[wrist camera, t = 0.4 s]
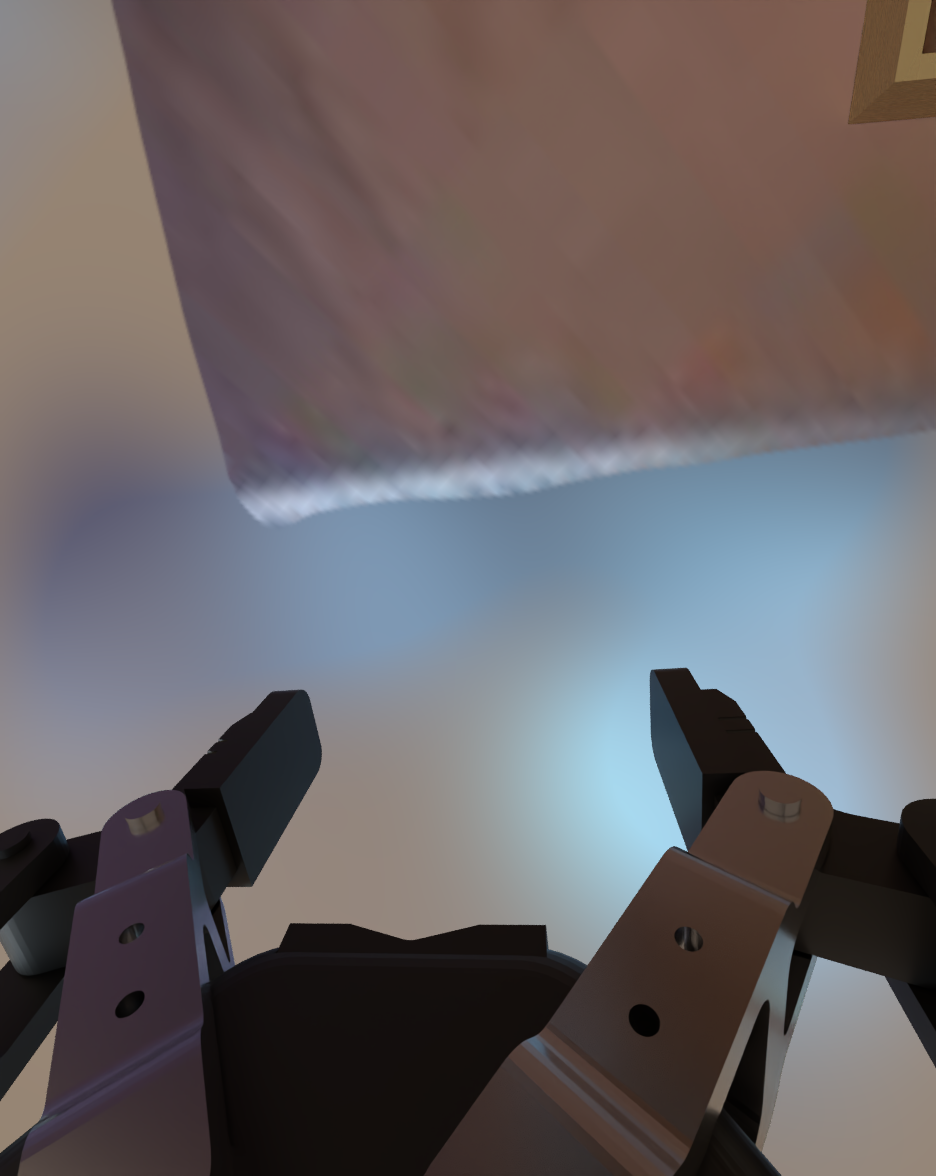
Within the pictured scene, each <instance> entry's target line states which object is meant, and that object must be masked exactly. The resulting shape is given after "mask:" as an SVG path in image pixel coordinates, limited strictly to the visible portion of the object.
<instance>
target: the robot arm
mask: <svg viewBox="0 0 936 1176" xmlns="http://www.w3.org/2000/svg"><path fill="white" fill-rule="evenodd" d="M650 712H651V713H650V716H651V740H652V747H653V753H654V757H655V760H656V763H657V766H658V769H659V772H660V774H661V777H662V780H663V783H664V786H665V789H666V791H667V794H668V797H669V800H670V803H671V805H672V808H673V811H674V814H675V817H676V819H677V822H678V825H679V828H680V830H681V834H682V836H683V839H684V842H685V845H686V848H687V850H688V852H687V851H684V850H682V849H680V848H678V847H675V846H673V847H671V848H669V849H668V850H667V851H666V852H665V853H664V855H663V856H662V858H661V859H660V861H659V862H658V863H657V865H656V866H655V868H654V869H653V871H652V872H651V874H650V875H649V877H648V878H647V879H646V881H645V882H644V884H643V885H642V887H641V888H640V890H639V891H638V893H637V894H636V896H635V897H634V898H633V900H632V901H631V903H630V904H629V906H628V907H627V909H626V910H625V912H624V913H623V915H622V916H621V917H620V919H619V920H618V922H617V923H616V925H615V926H614V928H613V929H612V931H611V932H610V933H609V935H608V936H607V938H606V939H605V941H604V942H603V944H602V945H601V947H600V948H599V950H598V951H597V952H596V954H595V956H594V957H593V958H592V960H591V961H590V963H589V964H588V965H586V964H584V963H582V962H580V961H579V960H577V959H574V958H572V957H570V956H567V955H565V954H563V953H560V952H556V951H553V950H549V949H548V941H547V931H546V925H476V926H472V927H468V928H464V929H459V930H455V931H451V932H447V933H443V934H438V935H434V936H430V937H426V938H421V939H417V940H403V939H400V938H397V937H393V936H390V935H387V934H383V933H380V932H376V931H372V930H369V929H366V928H362V927H359V926H355V925H352V924H304V923H303V924H301V923H299V924H298V923H297V924H296V923H293V924H292V923H291V924H290V925H289V927H288V929H287V931H286V934H285V936H284V938H283V940H282V942H281V945H280V947H279V948H275V949H272V950H269V951H266V952H263V953H260V954H257V955H255V956H253V957H251V958H249V959H247V960H244V961H242V962H241V963H239V964H237V965H235V962H234V957H233V951H232V945H231V940H230V935H229V929H228V923H227V918H226V913H225V908H224V905H223V902H222V900H221V895H222V893H223V892H224V890H225V889H226V887H252V886H253V884H254V882H255V880H256V879H257V877H258V875H259V874H260V872H261V870H262V868H263V867H264V865H265V863H266V861H267V860H268V858H269V856H270V854H271V853H272V851H273V849H274V847H275V846H276V844H277V842H278V841H279V839H280V837H281V835H282V834H283V832H284V830H285V828H286V827H287V825H288V823H289V822H290V820H291V818H292V816H293V815H294V813H295V811H296V809H297V807H298V806H299V804H300V802H301V801H302V799H303V797H304V796H305V794H306V792H307V790H308V789H309V787H310V785H311V783H312V782H313V780H314V778H315V776H316V775H317V773H318V771H319V768H320V764H321V757H322V749H321V743H320V739H319V735H318V731H317V727H316V723H315V719H314V714H313V710H312V706H311V703H310V699H309V696H308V694H307V692H305V691H304V690H288V691H274V692H271V693H270V694H269V695H268V696H267V697H266V698H265V699H264V700H263V701H262V702H261V704H260V705H259V706H258V707H257V708H256V709H255V710H254V711H253V713H250V714H249V715H247V716H245V717H244V718H242V719H241V720H239V721H238V722H236V723H235V724H233V725H232V726H231V727H230V728H229V729H228V730H227V731H226V732H225V733H224V734H223V735H222V736H221V737H220V739H219V741H218V742H217V743H215V744H214V745H213V746H212V747H211V748H210V749H209V750H208V754H205V755H204V756H203V757H202V758H201V759H200V760H199V761H198V762H197V763H196V764H195V765H194V766H193V768H192V769H191V770H190V771H189V772H188V773H187V774H186V775H185V776H184V777H183V778H182V779H181V780H180V781H179V783H178V784H177V785H176V786H175V787H174V788H173V789H172V790H163V791H158V792H154V793H151V794H147V795H145V796H142V797H140V798H138V799H136V800H134V801H132V802H130V803H128V804H127V805H125V806H124V807H122V808H121V809H119V810H118V811H117V812H116V813H115V814H113V815H112V816H111V817H110V818H109V819H108V821H107V822H106V823H105V825H104V827H103V829H102V831H99V832H95V833H91V834H88V835H84V836H79V837H75V838H71V839H67V840H66V838H65V836H64V834H63V831H62V829H61V827H60V825H59V823H58V822H57V821H56V820H53V819H38V820H34V821H30V822H26V823H23V824H21V825H18V826H15V827H13V828H11V829H9V830H6V831H5V832H3V833H1V834H0V942H1V944H2V946H3V947H4V949H5V951H6V953H7V955H8V957H9V959H10V960H9V961H8V962H7V964H6V965H5V966H4V967H3V968H2V969H1V970H0V1101H1V1099H2V1098H3V1097H4V1095H5V1093H6V1092H7V1091H8V1090H9V1088H10V1087H11V1085H12V1084H13V1082H14V1081H15V1080H16V1078H17V1077H18V1076H19V1074H20V1073H21V1071H22V1070H23V1069H24V1067H25V1066H26V1064H27V1063H28V1061H29V1060H30V1059H31V1057H32V1056H33V1055H34V1053H35V1052H36V1050H37V1049H38V1048H39V1046H40V1045H41V1043H42V1042H43V1041H44V1039H45V1038H46V1036H47V1035H48V1034H49V1032H50V1031H51V1029H52V1028H53V1026H54V1025H55V1024H56V1022H57V1021H58V1022H57V1029H56V1036H55V1043H54V1049H53V1055H52V1062H51V1069H50V1075H49V1082H48V1088H47V1095H46V1102H45V1107H44V1111H43V1114H42V1117H41V1119H40V1120H39V1122H38V1123H37V1124H35V1125H34V1126H33V1127H32V1128H30V1129H29V1130H28V1131H27V1132H25V1133H24V1134H23V1135H22V1136H21V1137H20V1138H18V1139H17V1140H16V1141H15V1142H13V1143H12V1144H11V1145H10V1146H8V1147H7V1148H6V1149H5V1150H3V1151H2V1152H1V1153H0V1176H781V1174H780V1173H779V1172H778V1171H777V1170H776V1169H775V1167H774V1166H773V1165H772V1164H771V1163H770V1162H769V1161H768V1159H767V1158H766V1157H765V1156H764V1155H763V1154H762V1149H763V1146H764V1143H765V1139H766V1136H767V1133H768V1129H769V1126H770V1122H771V1118H772V1115H773V1111H774V1107H775V1102H776V1098H777V1093H778V1088H779V1083H780V1077H781V1073H782V1068H783V1064H784V1060H785V1057H786V1053H787V1050H788V1047H789V1044H790V1041H791V1038H792V1035H793V1031H794V1028H795V1025H796V1022H797V1019H798V1016H799V1013H800V1010H801V1006H802V1003H803V1000H804V997H805V994H806V991H807V988H808V985H809V981H810V978H811V975H812V972H813V969H814V966H815V963H816V960H817V956H818V957H821V958H824V959H828V960H831V961H835V962H838V963H842V964H845V965H848V966H852V967H855V968H859V969H862V970H865V971H869V972H873V973H876V974H879V975H882V976H885V977H886V980H887V981H888V983H889V985H890V987H891V988H892V990H893V992H894V994H895V996H896V997H897V999H898V1001H899V1003H900V1005H901V1006H902V1008H903V1010H904V1012H905V1014H906V1015H907V1017H908V1019H909V1021H910V1023H911V1024H912V1026H913V1028H914V1030H915V1032H916V1033H917V1035H918V1037H919V1039H920V1040H921V1042H922V1044H923V1046H924V1048H925V1049H926V1051H927V1053H928V1055H929V1056H930V1058H931V1060H932V1062H933V1064H934V1065H935V1067H936V799H923V800H917V801H914V802H911V803H910V804H908V805H906V806H905V808H904V809H903V810H902V814H901V819H900V823H894V822H888V821H883V820H878V819H873V818H867V817H861V816H857V815H852V814H848V813H844V812H841V811H837V810H835V809H833V807H832V805H831V802H830V801H829V800H828V798H827V797H826V796H825V795H824V794H823V793H822V792H821V791H820V790H819V789H817V788H816V787H815V786H813V785H811V784H810V783H808V782H806V781H804V780H802V779H800V778H797V777H794V776H792V775H788V774H786V773H785V771H784V770H783V768H782V767H781V766H780V764H779V763H778V762H777V760H776V759H775V757H774V756H773V754H772V753H771V751H770V750H769V749H768V747H767V746H766V744H765V743H764V741H763V740H762V738H761V737H760V736H759V734H758V733H757V732H755V728H754V727H753V726H752V724H751V723H750V721H749V720H748V719H746V716H745V714H744V713H743V711H742V710H741V709H740V707H739V706H738V704H737V703H736V701H734V700H733V699H731V698H729V697H728V696H726V695H725V694H723V693H722V692H720V691H719V690H717V689H707V690H706V689H705V690H701V689H700V688H699V686H698V684H697V683H696V681H695V680H694V678H693V676H692V675H691V673H690V671H689V670H688V669H687V668H675V669H656V670H651V673H650Z"/></svg>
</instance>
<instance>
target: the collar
mask: <svg viewBox="0 0 936 1176" xmlns="http://www.w3.org/2000/svg"><path fill="white" fill-rule="evenodd" d="M931 2H932V0H868V1H867V7H866V13H865V20H864V26H863V33H862V39H861V45H860V52H859V58H858V64H857V71H856V77H855V84H854V90H853V96H852V103H851V109H850V116H849V122H848V124H856V123H868V122H879V121H891V120H902V119H914V118H925V117H936V53H926V54H922V50H923V45H924V40H925V34H926V29H927V24H928V18H929V13H930V7H931Z"/></svg>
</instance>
